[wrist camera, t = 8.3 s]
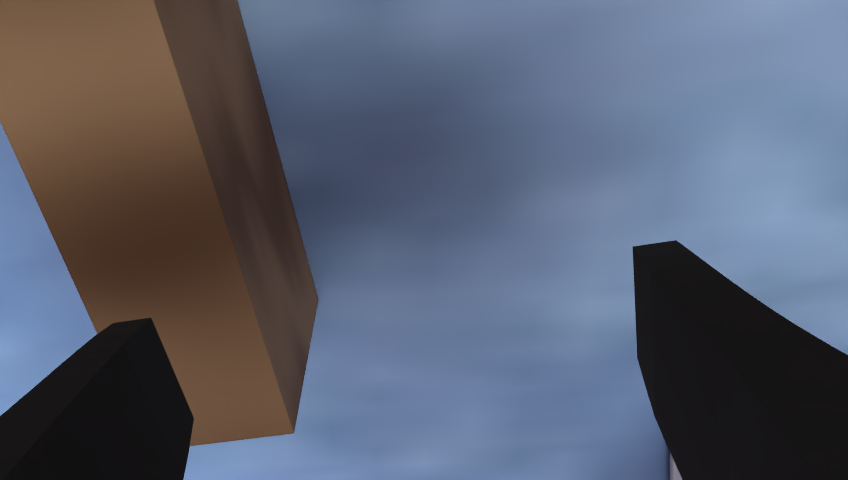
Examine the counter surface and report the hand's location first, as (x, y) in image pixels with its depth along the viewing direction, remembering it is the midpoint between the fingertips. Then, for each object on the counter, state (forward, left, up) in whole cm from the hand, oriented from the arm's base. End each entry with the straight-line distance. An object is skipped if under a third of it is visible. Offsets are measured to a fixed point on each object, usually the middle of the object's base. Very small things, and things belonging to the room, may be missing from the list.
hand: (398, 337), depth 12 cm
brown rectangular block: (+1, +5, -10) cm, 11 cm away
